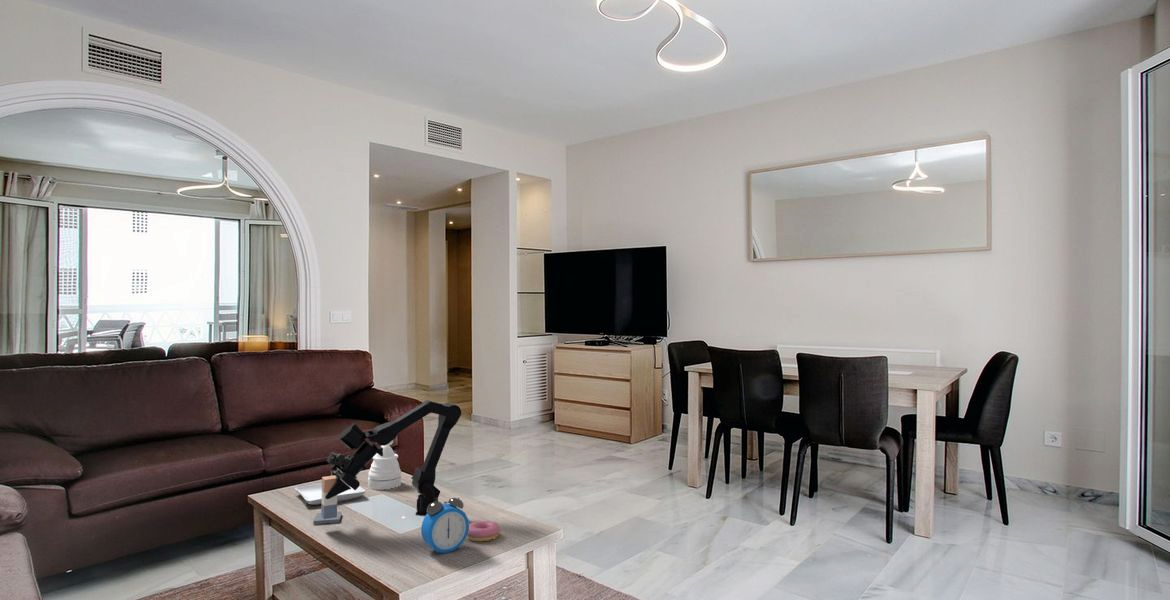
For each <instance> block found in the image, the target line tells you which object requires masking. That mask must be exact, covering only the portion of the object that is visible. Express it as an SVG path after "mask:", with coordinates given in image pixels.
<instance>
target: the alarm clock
mask: <svg viewBox="0 0 1170 600" xmlns="http://www.w3.org/2000/svg"><path fill="white" fill-rule="evenodd" d="M464 505H465V504H464V501H462V500H461V499H460V497H451V498H450V499H449V500H448V501H443V503H442V502H441V501H439V500H438V501H435V502H432V503H431V504H430V505H429V506H428V508H427V514H426V515H424V518H423V520H422V523H421V528H420V529H421V530H420V531H421V537H422V539H423V541H424V542H425V544H426V545H427V546H429V547H430V548H432V549H433V550H434V551H436V552H437V553H436V556H438V555H439V554H440V553H443V554H445V553H452V552H454V551H455V550H456V549H457V550H458V549H459V550H460V547H461V545H463V543H464V542H465V540H466V539H467V534H468V531H469V525H470V522H469V518H468V516H467V514H466V513H465V512H464V511H463V509H464Z"/></svg>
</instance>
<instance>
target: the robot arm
mask: <svg viewBox="0 0 1170 600" xmlns="http://www.w3.org/2000/svg"><path fill="white" fill-rule="evenodd" d="M429 414H436V415H438V421H437V423H438V424H437V428H436V431H435V433H434V436H433V438H432V442H431V444H430V446H429V448H428V451H427V454H426V457H425V459H424V461H423V464H422V465H421V466H420V467H415V469H414V472H413V474H412V477H411V479H412V481H411V484H412V487H413V488H414V489H415V490H416V491H417V493H418V495H417V499H416V512H415V515H418V516H419V515H422V516H426V514H427V508H428V506H429V505H430V504H431V503H432V502H435V501H439V497H440V493H441V490H440V489H438V488H437V486H435V482H436V474H437V473H436V472H437V466H438V463H439V460H440V458H441V456H442V453H443V450H444V448H445V445H446V442H447V440H448V438H449V435H450V432H451V431H452V429H453V428H454V427H455V426H456V424H458V421H459V420H460V418H461V416H462V409H461V408H460V407H459V405H457V404H454V403H451V402H445V403H439V402H435V401H432V400H428V399H427V400H424V401H423V402H422V403H420V404H419V405H417V406H415V407H414V408H413V409H411V410H409V411H407V412H406V413H404V414H403V415H400V416H399V417H398V418H396V419H394V420H391V421H388V422H384V423H382V424H379V425H377V426H374V428H373V429H371V430H367V431H363V430H361V428H359V426H358V425H357V424H355V423H352V424H351V425H349V426H348V427H346V428H345V429H343V430H342V431H340V432H341V433H339V436H338V437H337V440H339V441H340V442H341V443H343V444H344V445H345V446H346V447H347V448H348V449H350V450H355V451H354V453H350V454H348V455H344V454H342V453H340V452H339V453H337V452H333V451H330V453H329V454H328V457H327V458H326V462H327V463H328V464H329V468H330V469H331V470H330V476H333V475H335V476H336V482H335V484H334V485H333V487H332V488H331V489H330V491H329V492H328V494H327V495H326V497H325V498H326V499H330V498H332V497H334V496H336V495H338V494H340V493H342V492H345V491H347V490H349V489H351V488H353V489H354V490H356V489H357V488H358V487H359V486H360V487H361V485H360V482H361V481H359V480H358V479H357V478H358V477H357V476H358V475H359V474H360V472H361V471H362V470H366V469H367V467H366V466H367V465H368V464H369V463H370V461H371V460H373V457H374V456H375V455H376V454H377V453H378V454H379V455H380V456H383V448H382V447H381V446H385V445H387V444H389V443H390V442H391V441H392V440H393V441H394V440H395V439H396V438H397V437H398V435H399V434H401V433H402V431H403V430H405V429H407V428H408V427H410V426H412V425H413V424H415V423H417V422H418V421H420V420H422V419H423V418H424V417H426V416H427V415H429ZM366 439H367V440H368V441H370V442H368V441H367V440H366ZM376 444H377V445H379V447H378V446H377V445H376ZM350 487H351V488H350Z"/></svg>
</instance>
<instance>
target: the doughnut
mask: <svg viewBox="0 0 1170 600" xmlns="http://www.w3.org/2000/svg"><path fill="white" fill-rule="evenodd" d="M500 531H501V529H500V526H499V525H498V524H497V522H495V521H490V520H478V521H474V522H470V523H469V531H468V534H467V537H466V539H468V540H470V541H472V540H473V541H472V542H476V541H486V542H488V541H487V540H491V539H493V540H495V539H496V538H498V536H499V535H500ZM494 538H495V539H494ZM491 541H492V540H491Z"/></svg>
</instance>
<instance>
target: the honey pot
mask: <svg viewBox="0 0 1170 600" xmlns="http://www.w3.org/2000/svg"><path fill="white" fill-rule="evenodd" d="M393 443H394V440H392V441H391V442H390V443H389V444H387V445H385V446H382V445H380V447H382V448H383V456H380V455H379V454H378V453H377V454H376V455H375V456H374V457H373V458H372V460H373V461H372V463H371V464H370V468H369V471H368V474H367V475H368V476H367V488H368V489H370V488H371V490H375V489H377V490H376V491H378V490H379V491H382V490H384V489H386V490H392V489H391V488H393V489H396V488H398V486H399V487H400V486H401V485H402V469H400V464H399V461H398V458H399V455H398V454H397V453H395V451H394V450H393V448H392V447H391V446H392V444H393ZM395 487H396V488H395Z"/></svg>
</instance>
